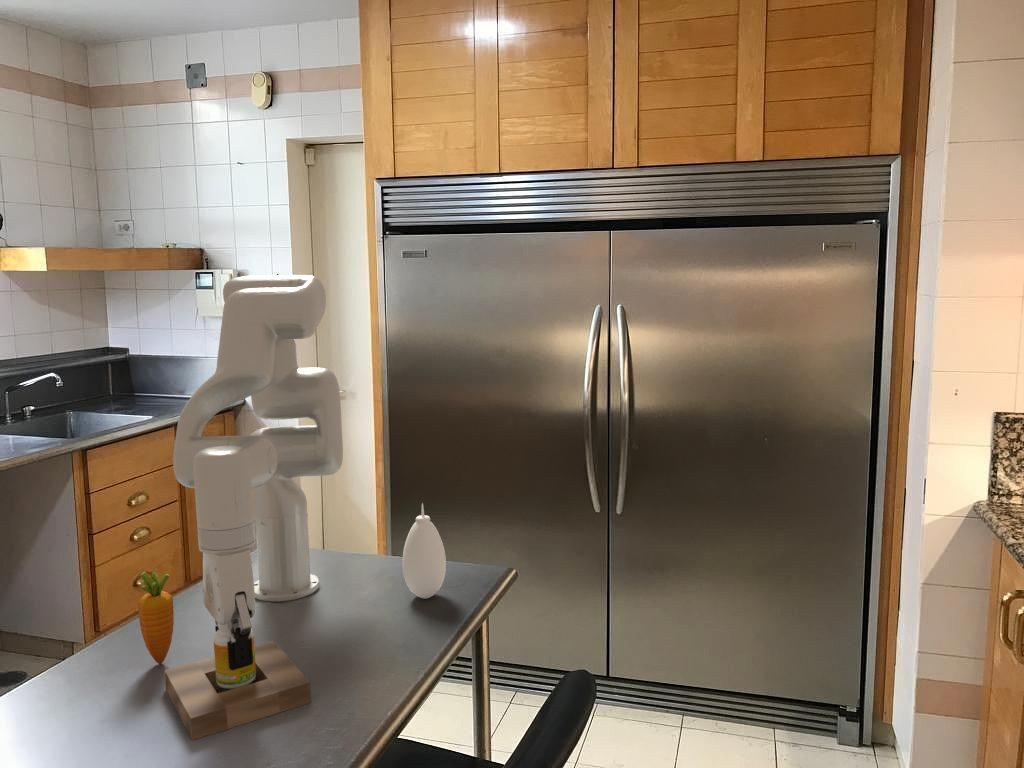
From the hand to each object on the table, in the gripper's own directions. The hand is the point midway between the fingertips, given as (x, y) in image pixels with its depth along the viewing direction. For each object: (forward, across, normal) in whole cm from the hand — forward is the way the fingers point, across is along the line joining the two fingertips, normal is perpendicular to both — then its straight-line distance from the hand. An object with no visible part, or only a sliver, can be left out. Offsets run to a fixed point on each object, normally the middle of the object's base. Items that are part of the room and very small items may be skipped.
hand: (234, 657), depth 116 cm
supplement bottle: (+4, 0, 0) cm, 4 cm away
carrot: (+6, -17, -7) cm, 19 cm away
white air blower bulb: (+6, -16, +39) cm, 43 cm away
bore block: (+6, 0, 0) cm, 6 cm away
